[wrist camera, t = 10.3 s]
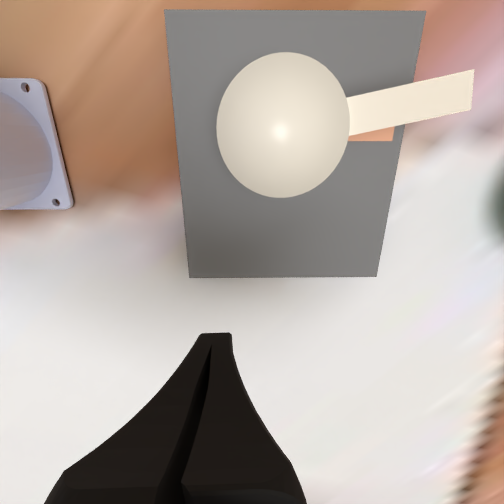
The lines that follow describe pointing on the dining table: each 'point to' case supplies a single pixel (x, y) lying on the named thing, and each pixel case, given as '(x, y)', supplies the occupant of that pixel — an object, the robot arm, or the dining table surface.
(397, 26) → the post board
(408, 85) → the cream ball joystick
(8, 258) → the dining table surface
